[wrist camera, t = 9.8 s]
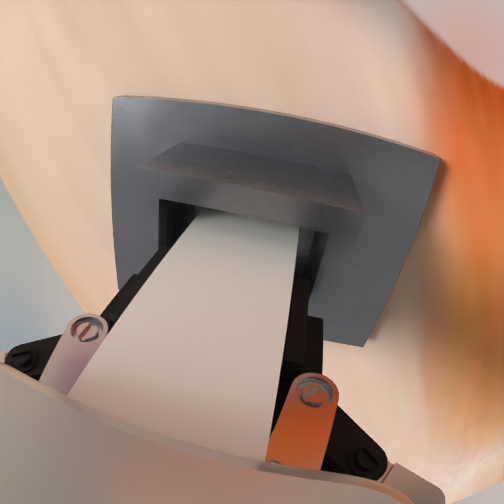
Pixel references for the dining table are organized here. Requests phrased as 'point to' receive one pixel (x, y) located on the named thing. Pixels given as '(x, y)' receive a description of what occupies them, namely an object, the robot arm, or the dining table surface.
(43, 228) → the dining table surface
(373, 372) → the dining table surface
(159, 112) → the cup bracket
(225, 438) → the rail post
